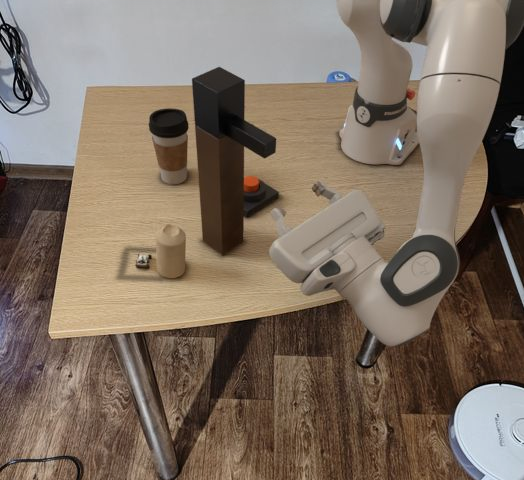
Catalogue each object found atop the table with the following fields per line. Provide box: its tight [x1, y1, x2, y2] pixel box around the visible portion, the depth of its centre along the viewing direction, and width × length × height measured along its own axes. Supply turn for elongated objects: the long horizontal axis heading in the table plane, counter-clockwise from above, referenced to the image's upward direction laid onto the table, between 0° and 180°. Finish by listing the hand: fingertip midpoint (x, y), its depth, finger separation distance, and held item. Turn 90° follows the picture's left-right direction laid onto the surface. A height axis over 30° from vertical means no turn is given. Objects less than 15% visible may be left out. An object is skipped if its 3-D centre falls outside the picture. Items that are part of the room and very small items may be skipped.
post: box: [194, 124, 245, 256], centre depth 105 cm, size 6×6×26 cm
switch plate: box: [244, 178, 280, 218], centre depth 122 cm, size 10×8×4 cm
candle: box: [155, 223, 187, 279], centre depth 105 cm, size 6×6×10 cm
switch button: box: [244, 175, 259, 192], centre depth 120 cm, size 4×4×2 cm
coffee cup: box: [148, 108, 190, 185], centre depth 122 cm, size 8×8×15 cm
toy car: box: [135, 252, 153, 269], centre depth 109 cm, size 3×4×2 cm, turn 179°
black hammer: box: [191, 66, 277, 159], centre depth 89 cm, size 6×15×8 cm, turn 46°
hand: (295, 196), depth 90 cm, fingers open, 8 cm apart
